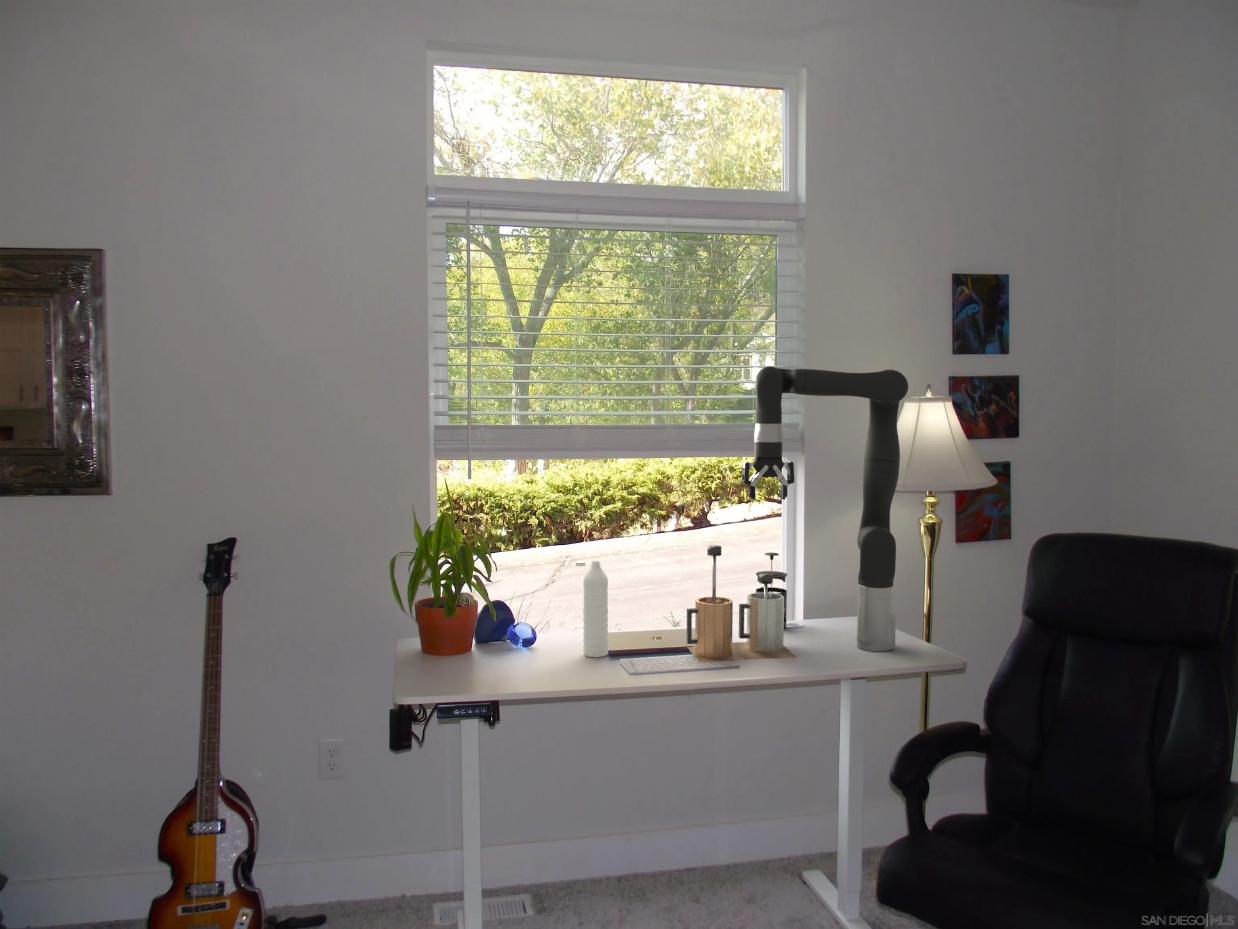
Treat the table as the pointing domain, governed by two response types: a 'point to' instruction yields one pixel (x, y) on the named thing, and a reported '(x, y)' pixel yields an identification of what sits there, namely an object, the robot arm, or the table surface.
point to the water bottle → (595, 611)
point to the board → (745, 653)
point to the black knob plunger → (714, 568)
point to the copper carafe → (711, 627)
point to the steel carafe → (763, 622)
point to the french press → (771, 589)
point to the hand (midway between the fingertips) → (767, 499)
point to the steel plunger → (765, 582)
